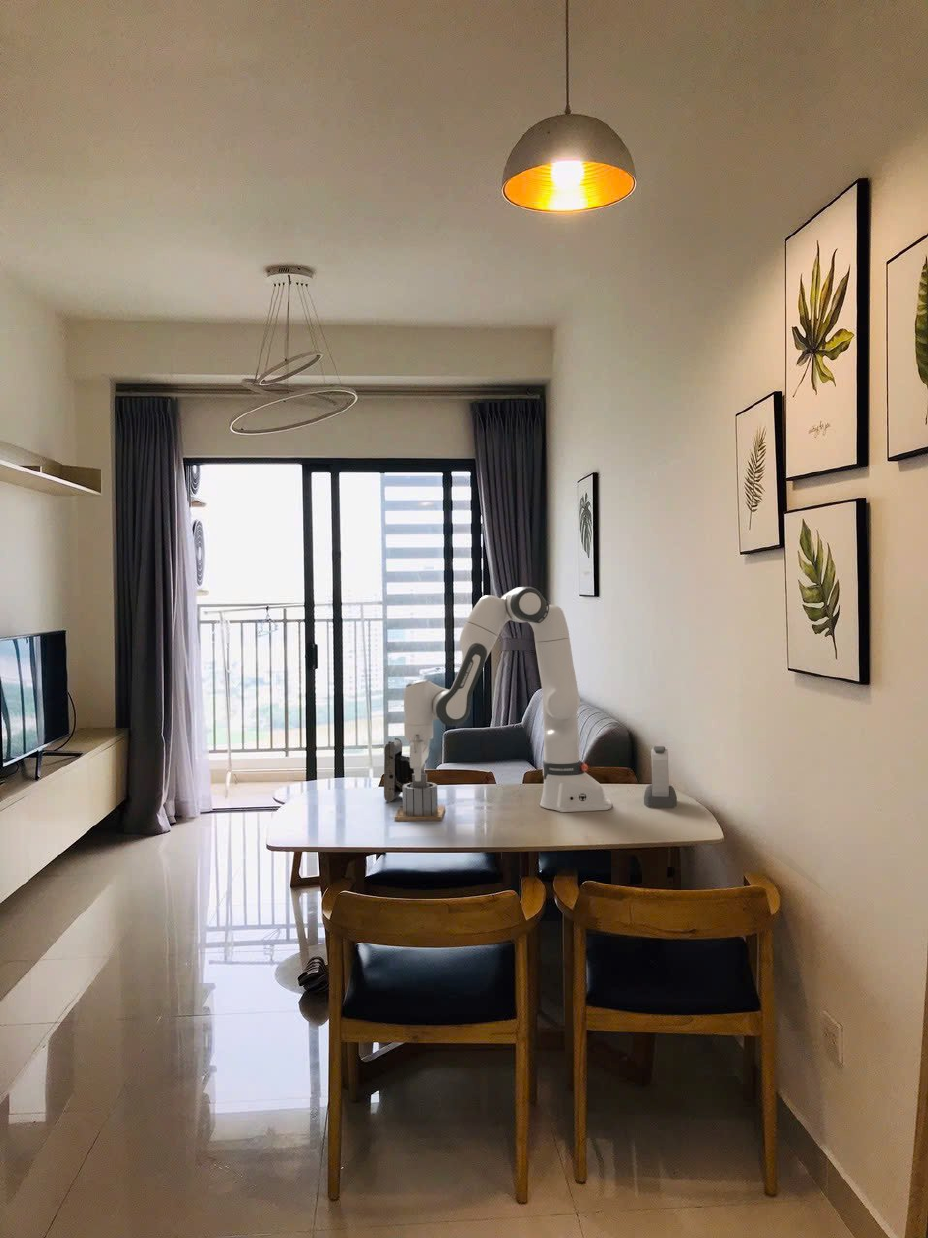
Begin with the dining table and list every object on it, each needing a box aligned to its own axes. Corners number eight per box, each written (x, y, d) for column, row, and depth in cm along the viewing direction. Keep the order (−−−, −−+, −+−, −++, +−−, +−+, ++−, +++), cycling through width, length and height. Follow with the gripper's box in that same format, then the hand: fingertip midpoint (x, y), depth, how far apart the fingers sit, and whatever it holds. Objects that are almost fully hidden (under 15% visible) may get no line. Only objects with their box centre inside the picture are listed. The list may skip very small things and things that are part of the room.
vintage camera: (428, 804, 288) (429, 743, 287) (382, 801, 291) (383, 741, 290) (435, 798, 297) (436, 739, 297) (391, 795, 300) (392, 737, 300)
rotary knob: (430, 789, 274) (430, 772, 274) (428, 794, 269) (428, 776, 268) (411, 789, 275) (411, 772, 275) (409, 794, 269) (408, 776, 269)
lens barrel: (445, 809, 278) (444, 780, 278) (441, 821, 264) (440, 790, 264) (401, 810, 279) (400, 781, 279) (394, 821, 265) (394, 790, 265)
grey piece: (644, 797, 290) (643, 742, 290) (676, 798, 288) (675, 742, 287) (643, 809, 274) (642, 750, 274) (677, 810, 272) (676, 751, 272)
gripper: (425, 738, 261) (426, 784, 261) (432, 727, 281) (433, 771, 281) (404, 738, 261) (405, 784, 261) (412, 728, 282) (413, 771, 282)
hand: (419, 777), depth 272 cm, fingers open, 8 cm apart
